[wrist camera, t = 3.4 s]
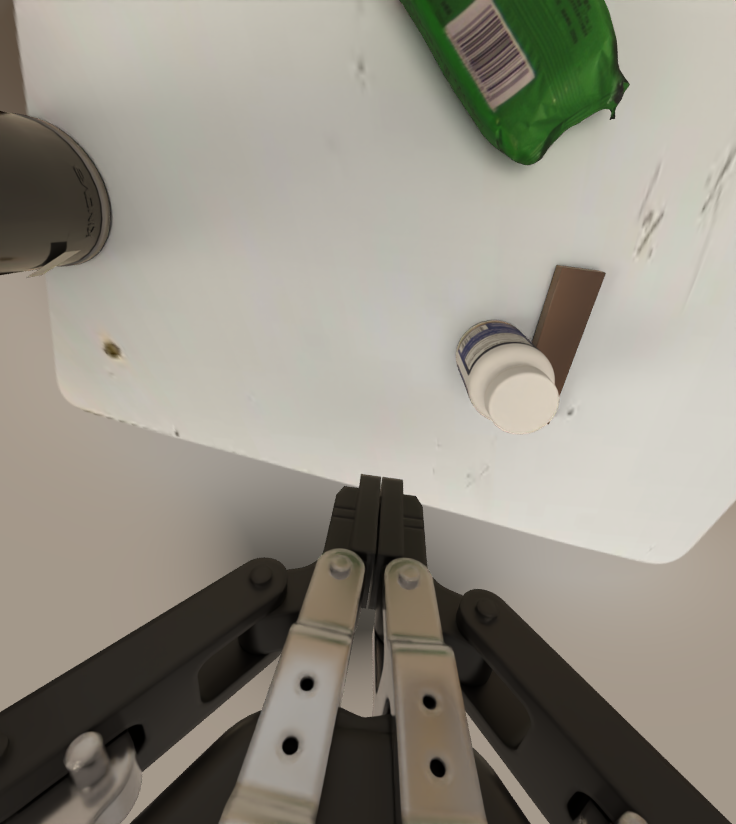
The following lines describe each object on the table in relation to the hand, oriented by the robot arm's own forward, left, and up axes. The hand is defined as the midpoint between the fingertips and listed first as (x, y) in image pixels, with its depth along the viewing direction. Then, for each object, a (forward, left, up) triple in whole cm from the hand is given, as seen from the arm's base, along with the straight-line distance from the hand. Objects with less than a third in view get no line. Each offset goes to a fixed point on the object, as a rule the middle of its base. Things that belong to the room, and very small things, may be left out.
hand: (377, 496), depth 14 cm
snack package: (+3, +19, -20) cm, 28 cm away
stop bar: (+12, +1, -20) cm, 23 cm away
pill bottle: (+8, 0, -20) cm, 21 cm away
